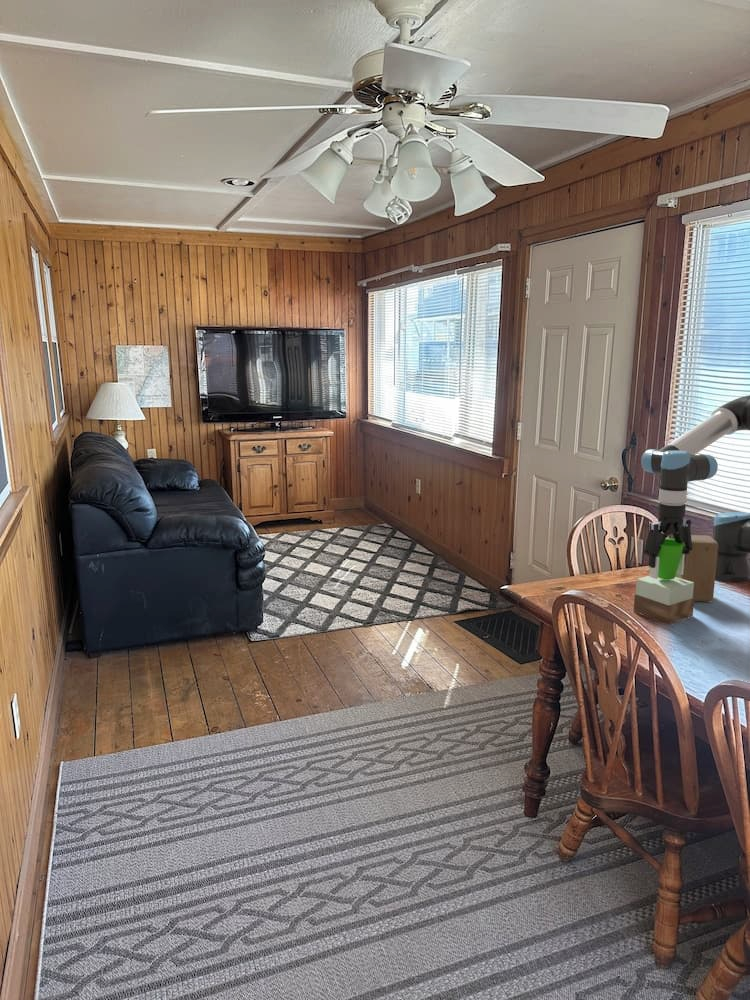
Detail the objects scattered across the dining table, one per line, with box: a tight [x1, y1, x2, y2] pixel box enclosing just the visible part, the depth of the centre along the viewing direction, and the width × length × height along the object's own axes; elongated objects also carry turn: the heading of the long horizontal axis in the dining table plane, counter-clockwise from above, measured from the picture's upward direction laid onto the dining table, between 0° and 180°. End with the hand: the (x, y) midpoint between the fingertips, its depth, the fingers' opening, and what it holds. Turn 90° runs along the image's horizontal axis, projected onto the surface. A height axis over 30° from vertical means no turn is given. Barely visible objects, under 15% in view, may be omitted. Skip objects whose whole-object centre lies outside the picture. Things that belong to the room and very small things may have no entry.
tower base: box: [633, 593, 695, 625], centre depth 208 cm, size 12×12×6 cm
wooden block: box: [676, 534, 718, 603], centre depth 220 cm, size 10×10×20 cm
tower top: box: [635, 575, 694, 605], centre depth 207 cm, size 12×12×5 cm
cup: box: [657, 537, 685, 580], centre depth 205 cm, size 9×9×11 cm
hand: (666, 575), depth 206 cm, fingers closed on cup, 9 cm apart
